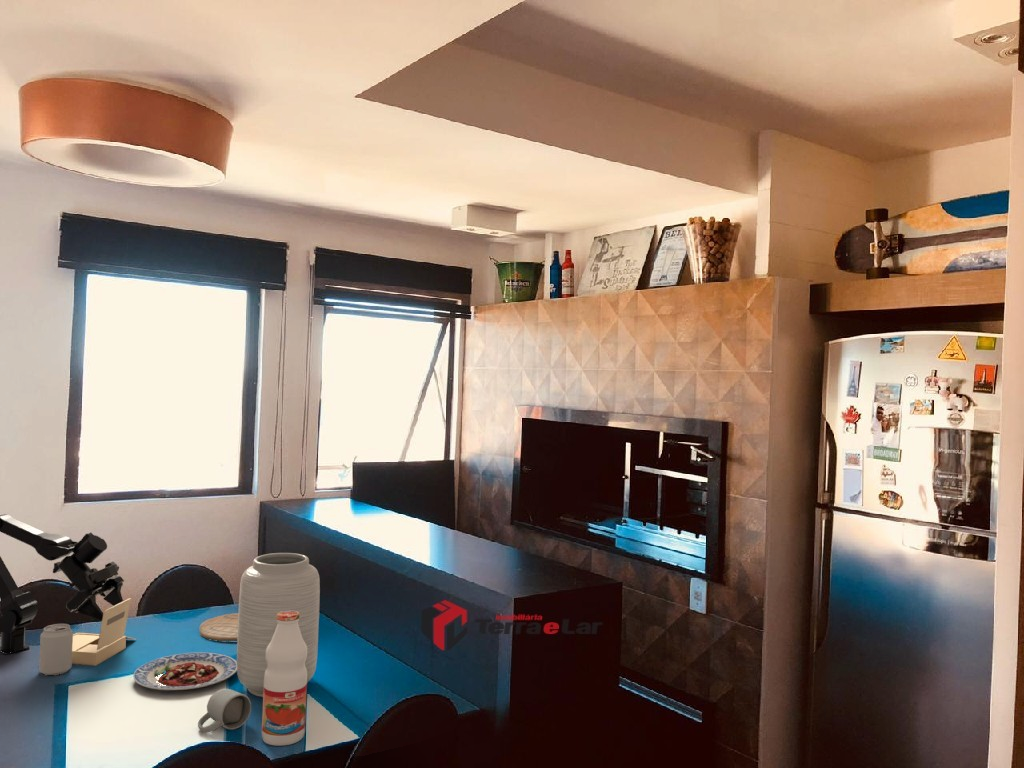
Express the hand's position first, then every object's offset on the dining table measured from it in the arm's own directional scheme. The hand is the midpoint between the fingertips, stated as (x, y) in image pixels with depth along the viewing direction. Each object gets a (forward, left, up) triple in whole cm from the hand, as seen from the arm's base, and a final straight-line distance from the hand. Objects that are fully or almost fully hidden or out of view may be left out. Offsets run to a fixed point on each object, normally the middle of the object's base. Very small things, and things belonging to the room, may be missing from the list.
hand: (115, 615), depth 218 cm
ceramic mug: (+60, -6, -12) cm, 61 cm away
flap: (-1, -1, -8) cm, 8 cm away
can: (-1, -15, -12) cm, 19 cm away
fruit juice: (+75, -1, -12) cm, 76 cm away
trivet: (+6, +38, -12) cm, 40 cm away
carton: (-9, -1, -12) cm, 15 cm away
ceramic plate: (+28, +5, -12) cm, 31 cm away
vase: (+51, +16, -12) cm, 55 cm away
